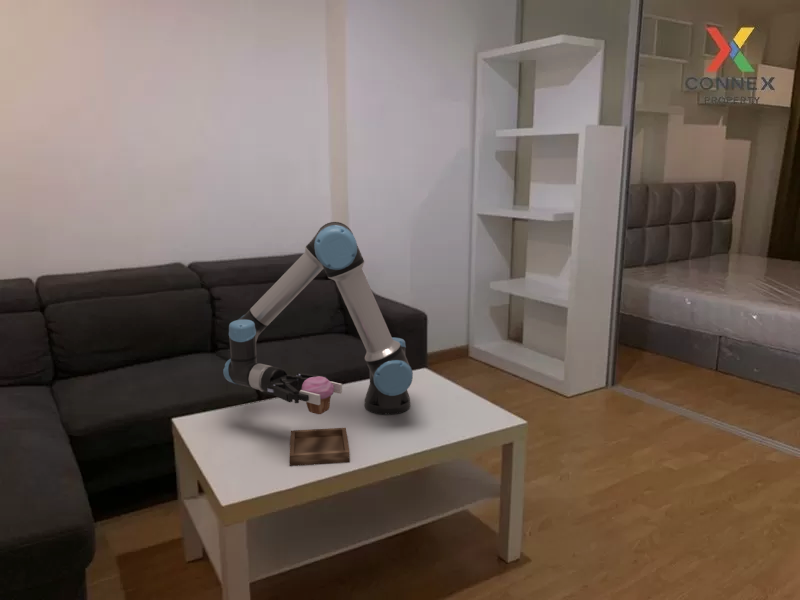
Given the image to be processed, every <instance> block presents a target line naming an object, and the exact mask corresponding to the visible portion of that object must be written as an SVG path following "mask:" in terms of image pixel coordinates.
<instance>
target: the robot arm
mask: <svg viewBox="0 0 800 600" xmlns="http://www.w3.org/2000/svg"><path fill="white" fill-rule="evenodd" d="M304 248H305V251H304V252H303V254H301V256H300V257H299V258H298V259H297V260H296V261H295V262H294V263H293V264H292V265H291V266H290V267H289V268H288V269H287V270H286V271H285V272H284V274H282V275H281V277H280V278H279V279H278V280H277V281H276V282H275V283H274V284H273V285H272V286H271V287H270V288H269V289H268V290H267V291H266V292H265V293H264V294H263V295H262V296H261V297H260V298H259V299H258V301H257V302H255V303H254V304H253V306H252V307H250V309H249V310H248V311H247V312H246V313H245V314H243V315H242V316H240V318H238V319H237V320H233V321H231V322H230V323H229V325H228V336H229V337H228V338H229V349H230V352H229V353H230V358H229V359H228V360H227V361H226V362H225V364H224V368H223V372H222V373H223V378H224V379H225V380H227V381H228V382H229V383H232V384H234V385H237V386H242V387H243V386H244V387H247V388H250V389H255V390H259V391H260V392H266V393H267V395H269V396H273V397H277V398H279V399H280V400H283V401H286V402H288V403H293V401H294V404H299V403H300V401H302V402H305V403H306V402H308V403H312V404H316V405H320V395H319V394H315V393H311V392H307V391H303V390H302V384H303V382H304V381H305V380H306V379H308V378H310V377H317V376H321V377H325V378H327V379H328V376H326V375H319V374H311V373H303V372H301V371H299V372H298V371H297V373H296V375H294V374H287V372H286V371H285V369H284V368H281V367H277V366H272V365H268V364H264V363H260V362H259V363H258V362H257V361H258V360H257V359H258V356H257V355H258V354H257V340H258V338H259V336H260V335H261V333H262V332H263V331H264V330H265V329H266V328H267V327H268V326H269V325H270V324H271V322H273V321H274V320H275V319H276V318H277V317H278V316H279V314H281V313H282V311H284V309H286V308H287V306H289V305H290V304H291V302H293V301H294V299H295V298H296V297H297V296H298V295H300V293H301V292H302V291H303V290H304V289H305V288H306V287H307V286H308V285H309V284H310V283H312V281H313V280H314V279H315V278H316V277H317V276H318V275H319V274H320V273H321V271H323V270H324V272H325V274H326V276H327V279H330V280H333V281H334V282H335V284H336V287H337V289H338V291H339V293H340V294H341V297H342V299H343V302H344V304H345V306H346V308H347V311H348V313H349V315H350V318H351V319H352V322H353V324H354V326H355V328H356V330H357V333H358V335H359V337H360V340H361V341H362V343H363V346H364V348H365V351H366V353H365V356H364V361H365V364H366V365H367V367H368V369H369V385H368V388H367V390H366V391H367V392H366V393H365V397H364V408H365V409H366V410H367V411H368V412H371V413H374V414H379V415H395V414H396V415H397V414H401V413H403V412H406V411H408V410H409V409H410V408H411V396H410V394H409V391H408V389H409V388H410V386H411V385H412V382H413V376H414V373H413V369H412V367H411V366H410V363H409V360H408V358H407V356H406V348H407V346H406V341H405V340H404V339H403V338H400V337H392V334H391V333H390V330H389V328H388V325H387V323H386V320H385V318H384V317H383V314H382V311H381V310H380V307H379V305H378V302H377V301H376V298H375V296H374V293H373V291H372V289H371V286H370V284H369V282H368V279H367V277H366V275H365V273H364V270H363V267H364V265H365V259H364V257H363V256H362V252H361V251H360V248H359V246H358V243H357V240H356V237H355V235H354V234H353V232H352V230H351V229H350V227H349V226H347V225H346V224H344V223H342V222H339V221H330V222H327V223H325V224H323V225H322V226H321V227H320V228H319V229H318V231H317V232H316V234H315V235H314V236H313V237H312V239H311V240H310V241H309V242H308V244H306V246H305V247H304ZM329 381H330V380H329ZM330 382H331V383H332V384H333V386H334V392H333V393H335V394H340V395H341V394H343V383H339V382H335V381H330ZM299 389H300V390H299Z"/></svg>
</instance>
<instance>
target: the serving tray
mask: <svg viewBox="0 0 800 600" xmlns="http://www.w3.org/2000/svg"><path fill="white" fill-rule="evenodd" d="M289 438H290V439H289V441H290V442H289V455H288V457H289V467H296V466H297V467H298V465H299V466H315V465H326V464H327V465H328V464H330V465H331V464H345V463H346V464H347V463H350V461H351V458H350V455H351V454H350V446H349V440H348V438H349V437H348V433H347V427H332V428H331V427H330V428H314V429H312V428H311V429H300V430H299V429H298V430H297V429H296V430H290V436H289ZM314 464H315V465H314Z"/></svg>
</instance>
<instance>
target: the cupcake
mask: <svg viewBox="0 0 800 600" xmlns="http://www.w3.org/2000/svg"><path fill="white" fill-rule="evenodd" d="M321 376H322V375H320V376H317V377H310V378H308V379H306V380H305V381H304V382H303V384H302V387H301V390H303V391H307V392H311V393H315V394H319V395H320V405H316V404H312V403H308V402H305V403H306V407H307V410H308V412H310V413H311V414H315V415H322V414H323V413H325V412H327V411H328V410H329V409H330V408H331V407H330V406H331V397H332V395H333V394H334V393H335V392H334V386H333V384H332V383H331V382H330V380H329V379H328V377H327V378H325V377H321Z"/></svg>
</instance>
